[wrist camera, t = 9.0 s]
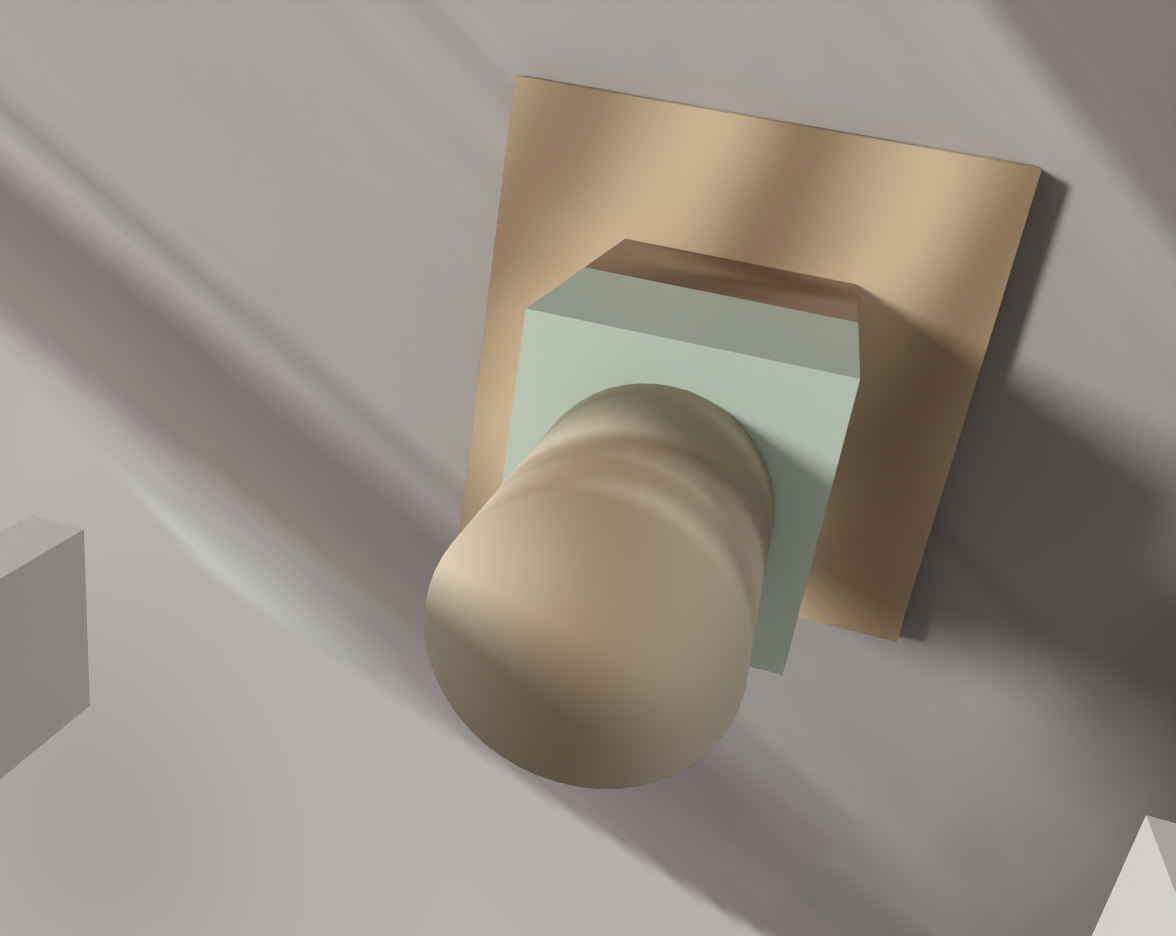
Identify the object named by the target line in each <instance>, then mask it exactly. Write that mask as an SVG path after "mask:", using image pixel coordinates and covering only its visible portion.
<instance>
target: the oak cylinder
mask: <svg viewBox="0 0 1176 936" xmlns="http://www.w3.org/2000/svg"><path fill="white" fill-rule="evenodd" d="M774 511H775V500H774V491H773V485H772V481H771V477H770V473H769V470H768V467H767V465H766V463H765V460H764V458H763V456H762V454H761V452H760V450H759V449H758V447H757V445H756V443H755V442H754V440H753V439H752V438H751V437H750V435H749V434H748V433H747V431H746V430H745V429H744V428H743V427H742V426H741V425H740V424H739V423H738V422H737V421H736V420H735V419H734V418H733V417H732V416H731V415H730V414H728V413H727V412H726V411H724V410H723V409H722V408H721V407H719V406H718V405H716V404H714V403H712V402H711V401H709V400H707V399H706V398H704V397H701V396H699V395H697V394H695V393H692V392H690V391H687V390H683V389H680V388H676V387H673V386H667V385H661V384H645V383H638V384H628V385H621V386H617V387H613V388H608V389H605V390H603V391H600V392H598V393H595V394H593V395H591V396H589V397H587V398H585V399H583V400H582V401H580V402H578V403H577V404H576V405H574V406H573V407H572V408H570V409H569V410H568V411H566V412H565V413H564V414H563V415H562V416H561V417H560V418H559V419H558V420H557V421H556V422H555V424H554V425H553V426H552V427H551V428H550V429H549V431H548V432H547V433H546V434H545V435H544V436H543V438H542V439H541V440H540V441H539V442H538V443H537V445H536V446H535V447H534V448H533V449H532V450H531V452H530V453H529V454H528V455H527V456H526V457H525V459H524V460H523V461H522V462H521V463H520V464H519V466H518V467H517V468H516V469H515V470H514V471H513V473H512V474H511V475H510V476H509V477H508V478H507V480H506V481H505V482H504V483H503V484H502V485H501V487H500V488H499V489H498V490H497V491H496V492H495V494H494V495H493V496H492V497H491V498H490V499H489V501H488V502H487V503H486V504H485V505H484V506H483V508H482V509H481V510H480V511H479V512H478V513H477V514H476V516H475V517H474V518H473V519H472V520H471V521H470V523H469V524H468V525H467V526H466V527H465V528H464V530H463V531H462V532H461V533H460V534H459V535H458V537H457V538H456V539H455V540H454V541H453V543H452V544H451V546H450V547H449V548H448V550H447V551H446V552H445V554H444V555H443V557H442V559H441V560H440V562H439V564H438V566H437V568H436V570H435V572H434V575H433V578H432V581H431V583H430V586H429V589H428V595H427V600H426V605H425V622H424V627H425V638H426V646H427V650H428V654H429V659H430V663H431V666H432V668H433V671H434V674H435V676H436V679H437V681H438V683H439V685H440V687H441V689H442V691H443V693H444V695H445V697H446V699H447V700H448V702H449V703H450V705H451V706H452V708H453V709H454V711H455V712H456V713H457V715H458V716H459V717H460V718H461V720H462V721H463V722H464V723H465V724H466V725H467V727H468V728H469V729H470V730H471V731H472V732H473V733H474V734H475V735H476V736H477V737H478V738H480V739H481V740H482V741H483V742H484V743H485V744H486V745H487V746H489V747H490V748H491V749H493V750H494V751H495V752H497V753H498V754H499V755H501V756H502V757H504V758H505V759H507V760H509V761H510V762H512V763H514V764H515V765H517V766H519V767H521V768H523V769H525V770H527V771H530V772H532V773H534V774H536V775H538V776H541V777H544V778H547V779H550V780H553V781H556V782H560V783H564V784H568V785H573V786H578V787H587V788H595V789H618V788H627V787H636V786H640V785H644V784H648V783H653V782H656V781H659V780H661V779H664V778H667V777H669V776H672V775H674V774H676V773H678V772H680V771H682V770H683V769H685V768H687V767H689V766H691V765H692V764H693V763H695V762H696V761H697V760H699V759H700V758H701V757H703V756H704V755H705V754H706V753H707V752H708V751H709V750H710V749H711V748H712V747H713V746H714V745H715V744H716V743H717V742H718V741H719V740H720V739H721V737H722V736H723V735H724V733H725V732H726V730H727V729H728V728H729V726H730V725H731V723H732V721H733V719H734V717H735V715H736V713H737V711H738V709H739V706H740V703H741V700H742V697H743V694H744V691H745V686H746V680H747V674H748V668H749V662H750V657H751V651H752V645H753V639H754V633H755V627H756V621H757V616H758V610H759V604H760V598H761V592H762V586H763V581H764V575H765V569H766V563H767V557H768V551H769V546H770V540H771V534H772V528H773V522H774Z"/></svg>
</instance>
